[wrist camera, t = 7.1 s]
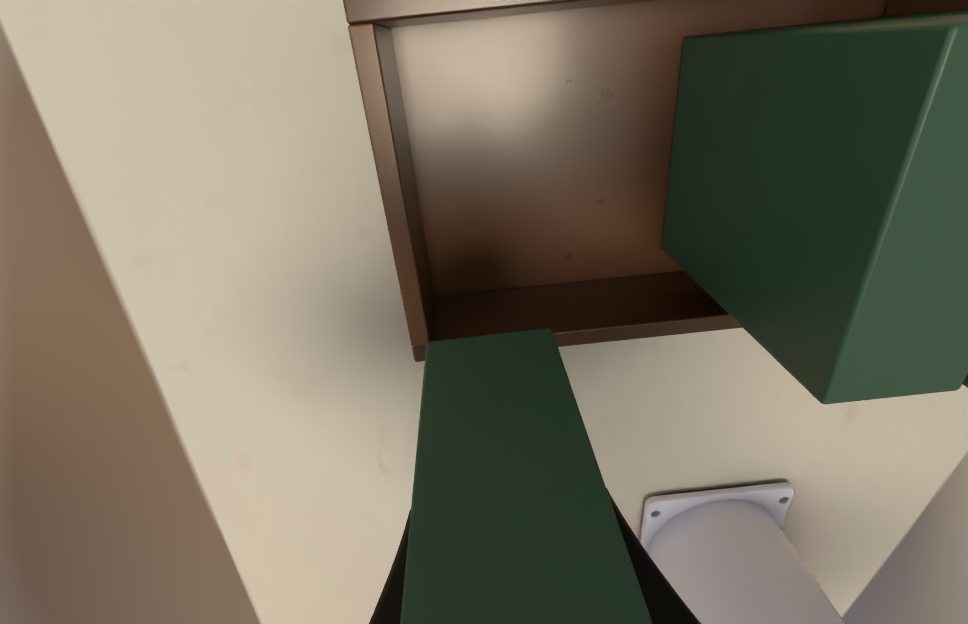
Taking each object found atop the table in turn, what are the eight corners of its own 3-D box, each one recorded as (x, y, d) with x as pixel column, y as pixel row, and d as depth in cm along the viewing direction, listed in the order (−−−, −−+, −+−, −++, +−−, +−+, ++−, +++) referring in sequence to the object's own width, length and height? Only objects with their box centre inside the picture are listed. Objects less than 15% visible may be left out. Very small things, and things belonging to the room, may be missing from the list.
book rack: (817, 263, 19) (899, 312, 16) (421, 305, 19) (414, 362, 16) (906, -48, 14) (1056, -80, 11) (369, 6, 14) (340, -7, 11)
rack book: (738, 240, 18) (960, 391, 10) (660, 248, 18) (822, 406, 10) (779, 26, 14) (1167, 1, 7) (682, 36, 14) (955, 23, 7)
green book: (557, 516, 15) (674, 1055, 7) (461, 527, 15) (469, 1079, 7) (551, 327, 11) (775, 980, 3) (426, 340, 11) (361, 1026, 3)
